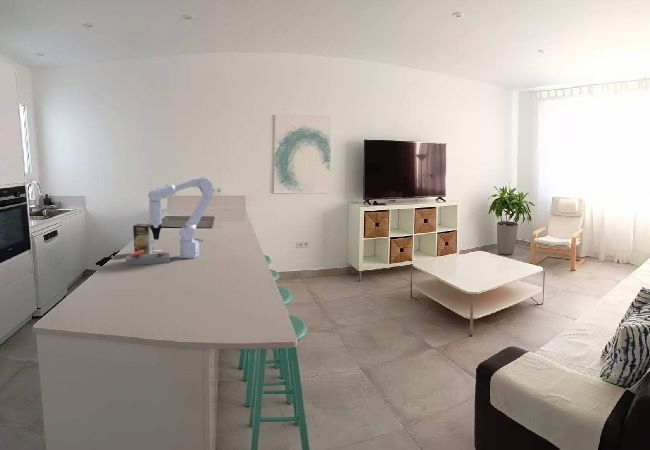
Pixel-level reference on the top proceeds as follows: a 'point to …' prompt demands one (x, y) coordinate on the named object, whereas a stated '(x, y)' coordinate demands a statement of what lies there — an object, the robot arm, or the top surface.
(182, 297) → the top surface
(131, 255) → the red rocker
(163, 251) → the white rocker
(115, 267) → the top surface
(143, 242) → the coffee box
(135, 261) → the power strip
